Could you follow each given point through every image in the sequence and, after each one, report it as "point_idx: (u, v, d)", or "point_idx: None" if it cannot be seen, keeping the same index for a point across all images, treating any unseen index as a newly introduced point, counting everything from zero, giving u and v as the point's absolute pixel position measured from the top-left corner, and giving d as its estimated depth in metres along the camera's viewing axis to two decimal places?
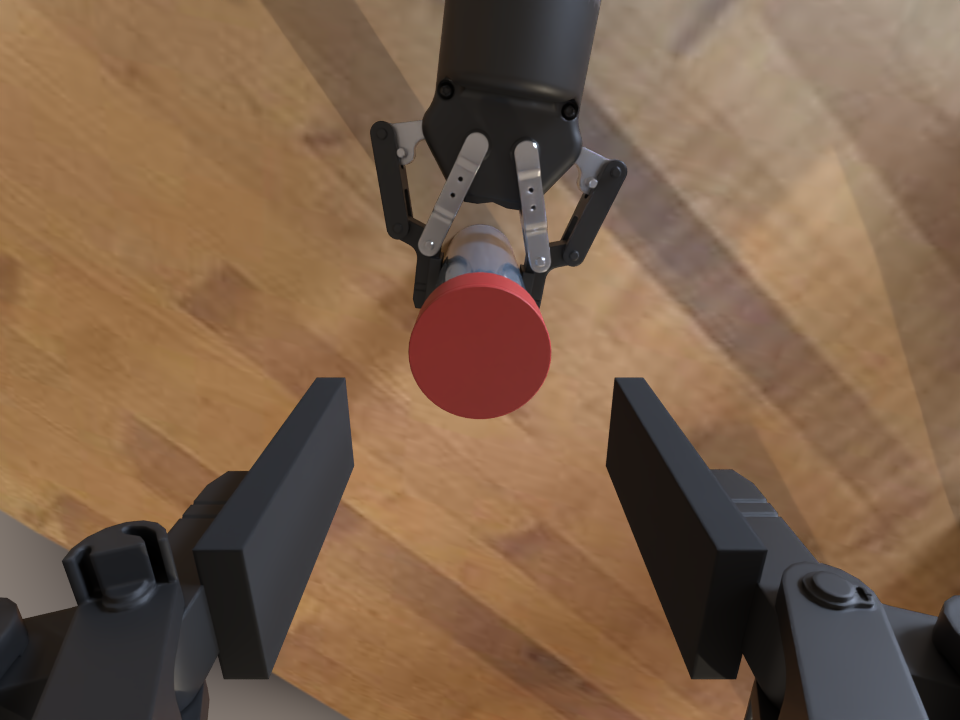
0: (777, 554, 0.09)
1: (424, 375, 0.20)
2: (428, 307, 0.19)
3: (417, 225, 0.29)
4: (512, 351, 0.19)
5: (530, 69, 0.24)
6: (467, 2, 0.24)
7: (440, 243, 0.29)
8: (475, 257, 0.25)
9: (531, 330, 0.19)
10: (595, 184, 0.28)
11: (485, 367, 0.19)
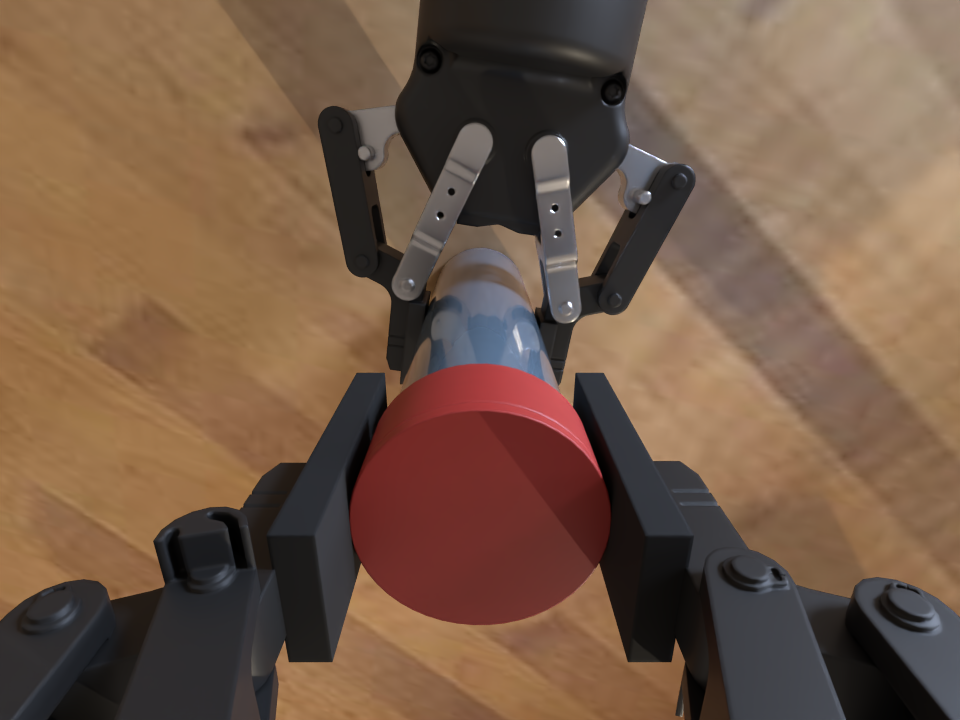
0: (710, 541, 0.09)
1: (379, 558, 0.11)
2: (382, 446, 0.10)
3: (390, 257, 0.21)
4: (540, 520, 0.10)
5: (560, 21, 0.15)
6: None
7: (423, 283, 0.20)
8: (473, 315, 0.16)
9: (576, 485, 0.10)
10: (648, 199, 0.19)
11: (490, 545, 0.11)
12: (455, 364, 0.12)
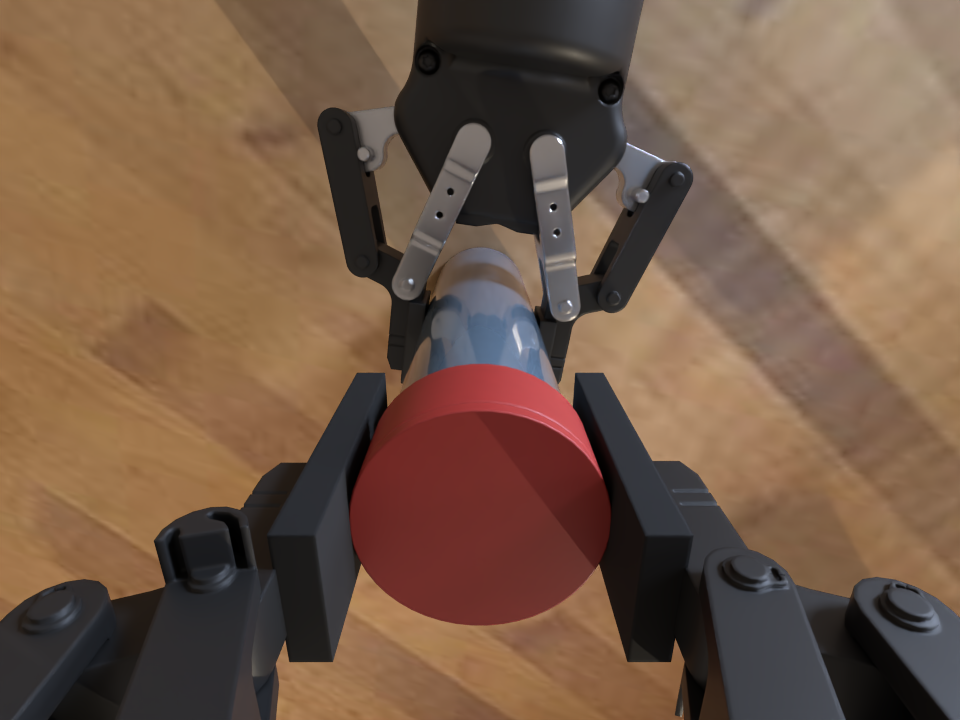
0: (709, 541, 0.09)
1: (550, 590, 0.11)
2: (432, 616, 0.11)
3: (390, 257, 0.21)
4: (448, 483, 0.10)
5: (556, 21, 0.15)
6: None
7: (423, 282, 0.21)
8: (472, 314, 0.16)
9: (395, 468, 0.10)
10: (646, 197, 0.19)
11: (497, 512, 0.10)
12: (455, 362, 0.13)
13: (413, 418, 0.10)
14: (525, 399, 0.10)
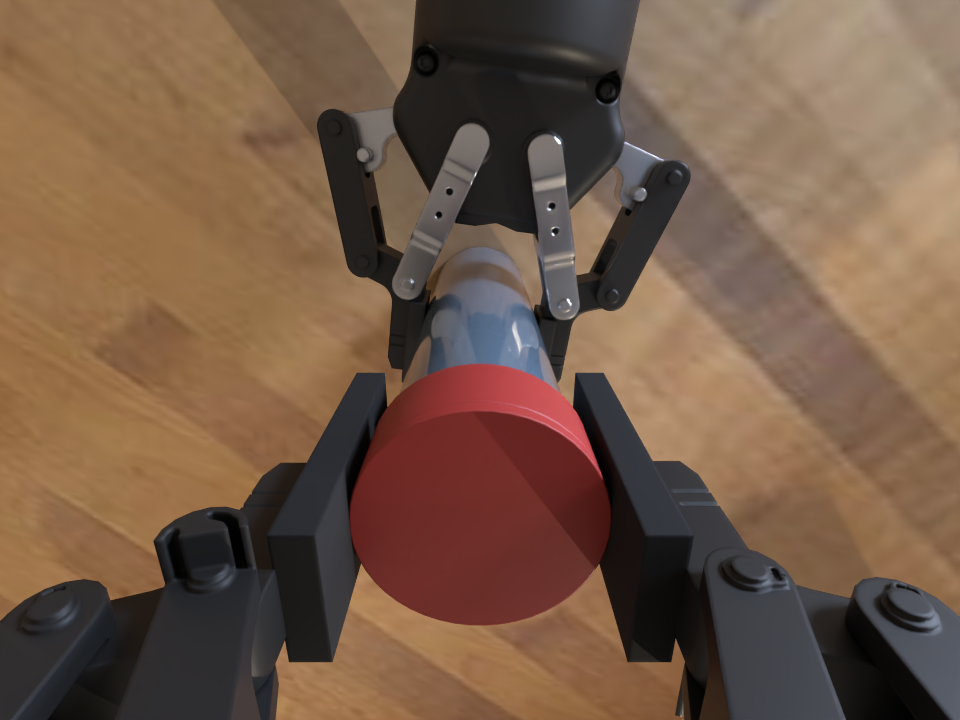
0: (709, 541, 0.09)
1: (531, 440, 0.10)
2: (609, 529, 0.10)
3: (391, 256, 0.21)
4: (443, 565, 0.11)
5: (553, 21, 0.15)
6: None
7: (423, 282, 0.21)
8: (472, 313, 0.16)
9: (448, 604, 0.11)
10: (644, 196, 0.19)
11: (456, 519, 0.10)
12: (454, 360, 0.13)
13: None
14: None
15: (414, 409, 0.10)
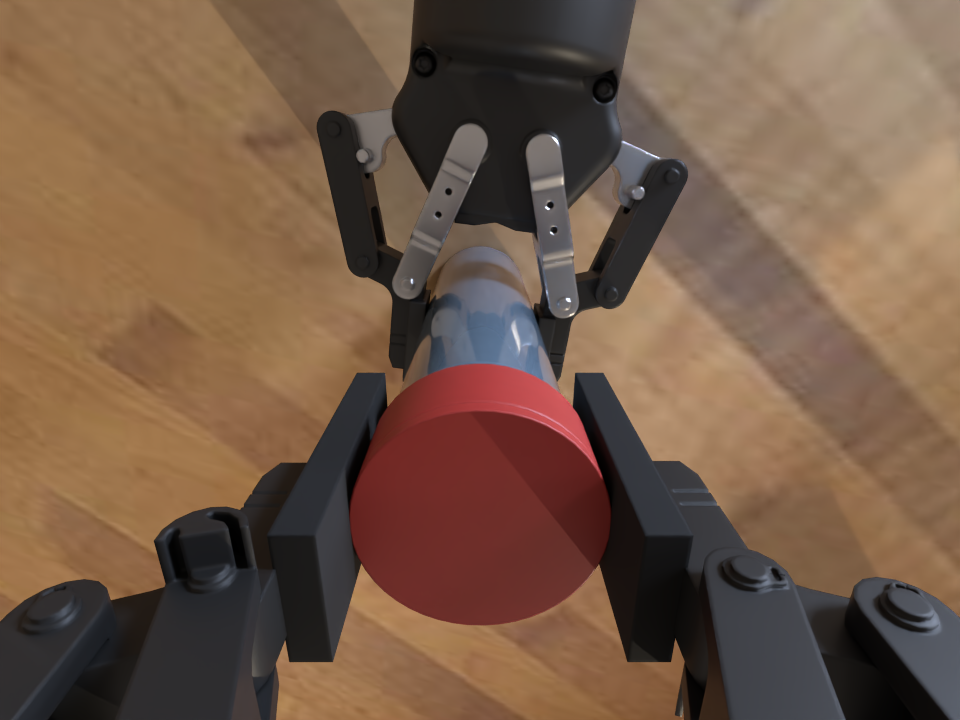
0: (709, 541, 0.09)
1: (369, 521, 0.10)
2: (431, 418, 0.10)
3: (390, 256, 0.21)
4: (537, 541, 0.11)
5: (550, 22, 0.15)
6: None
7: (423, 281, 0.21)
8: (471, 311, 0.16)
9: (586, 522, 0.10)
10: (642, 194, 0.20)
11: (480, 547, 0.11)
12: (454, 358, 0.13)
13: None
14: None
15: None
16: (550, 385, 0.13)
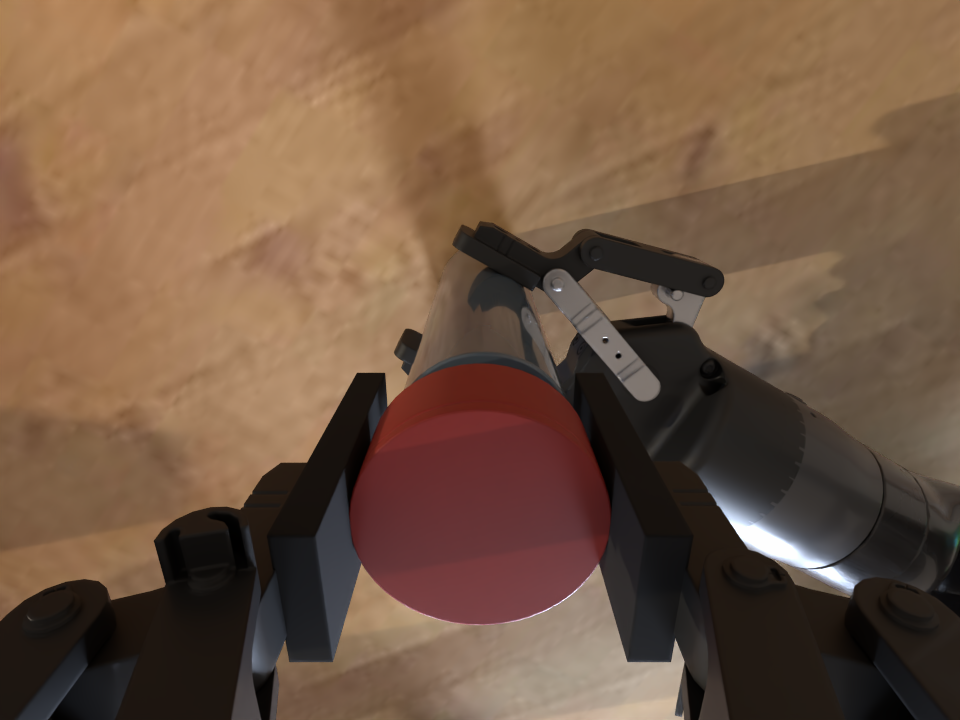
0: (709, 541, 0.09)
1: (369, 521, 0.10)
2: (431, 418, 0.10)
3: (584, 274, 0.22)
4: (537, 541, 0.11)
5: None
6: (783, 435, 0.22)
7: (553, 299, 0.22)
8: None
9: (585, 522, 0.10)
10: None
11: (480, 547, 0.11)
12: None
13: None
14: None
15: None
16: None
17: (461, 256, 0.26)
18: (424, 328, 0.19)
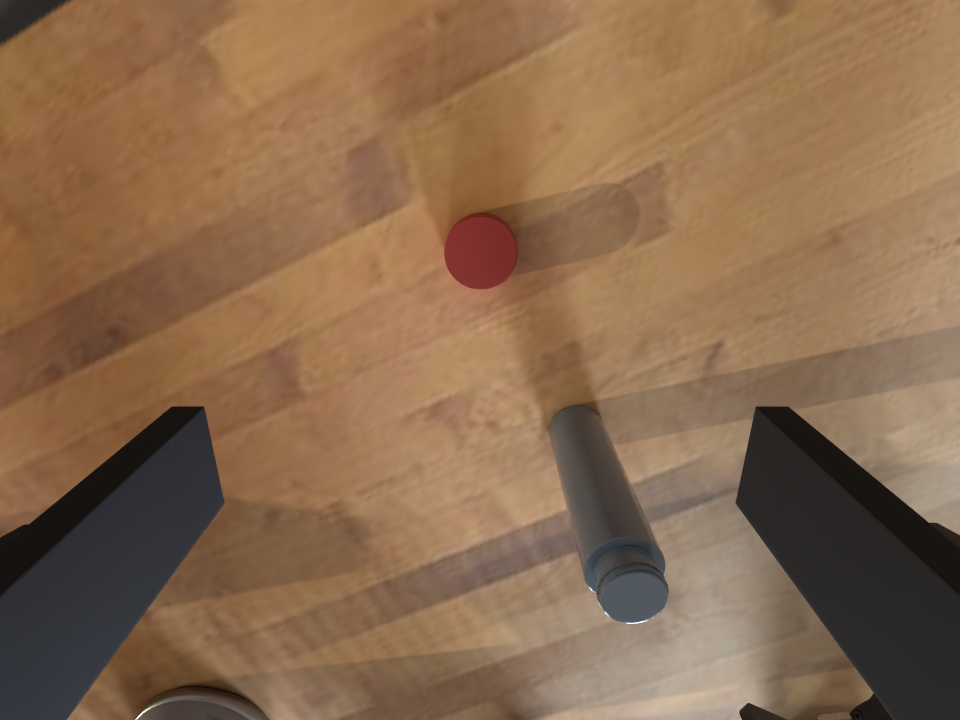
0: None
1: (450, 252, 0.38)
2: (468, 219, 0.37)
3: None
4: (496, 258, 0.38)
5: None
6: None
7: None
8: None
9: (510, 252, 0.38)
10: None
11: (480, 261, 0.38)
12: None
13: None
14: None
15: None
16: None
17: (569, 422, 0.42)
18: (571, 493, 0.35)
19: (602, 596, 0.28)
